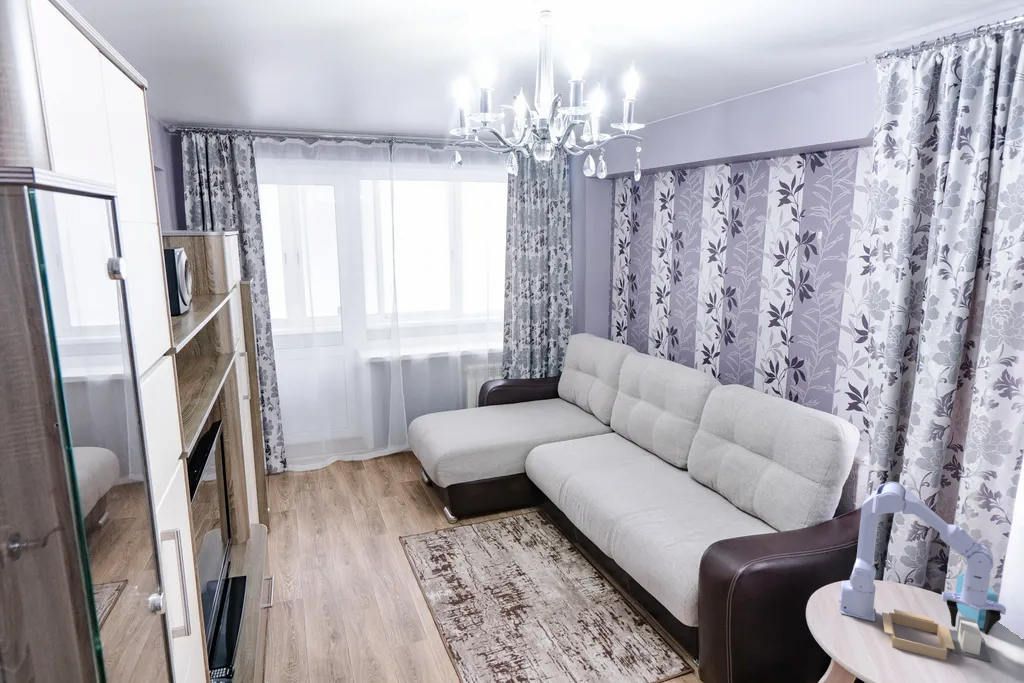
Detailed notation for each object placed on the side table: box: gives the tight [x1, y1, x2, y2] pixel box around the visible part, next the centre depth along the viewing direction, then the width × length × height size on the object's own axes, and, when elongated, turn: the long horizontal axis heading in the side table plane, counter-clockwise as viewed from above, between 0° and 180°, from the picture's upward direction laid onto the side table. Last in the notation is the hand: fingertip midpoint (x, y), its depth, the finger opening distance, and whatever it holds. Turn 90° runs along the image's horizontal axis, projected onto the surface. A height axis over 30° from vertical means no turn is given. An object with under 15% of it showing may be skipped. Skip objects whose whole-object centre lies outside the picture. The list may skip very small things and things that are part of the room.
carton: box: [881, 608, 955, 661], centre depth 178 cm, size 17×15×3 cm
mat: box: [949, 629, 992, 663], centre depth 175 cm, size 9×11×1 cm
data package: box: [955, 573, 998, 629], centre depth 186 cm, size 12×4×12 cm, turn 173°
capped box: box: [956, 615, 983, 655], centre depth 174 cm, size 4×8×6 cm, turn 153°
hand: (969, 628), depth 174 cm, fingers open, 7 cm apart
